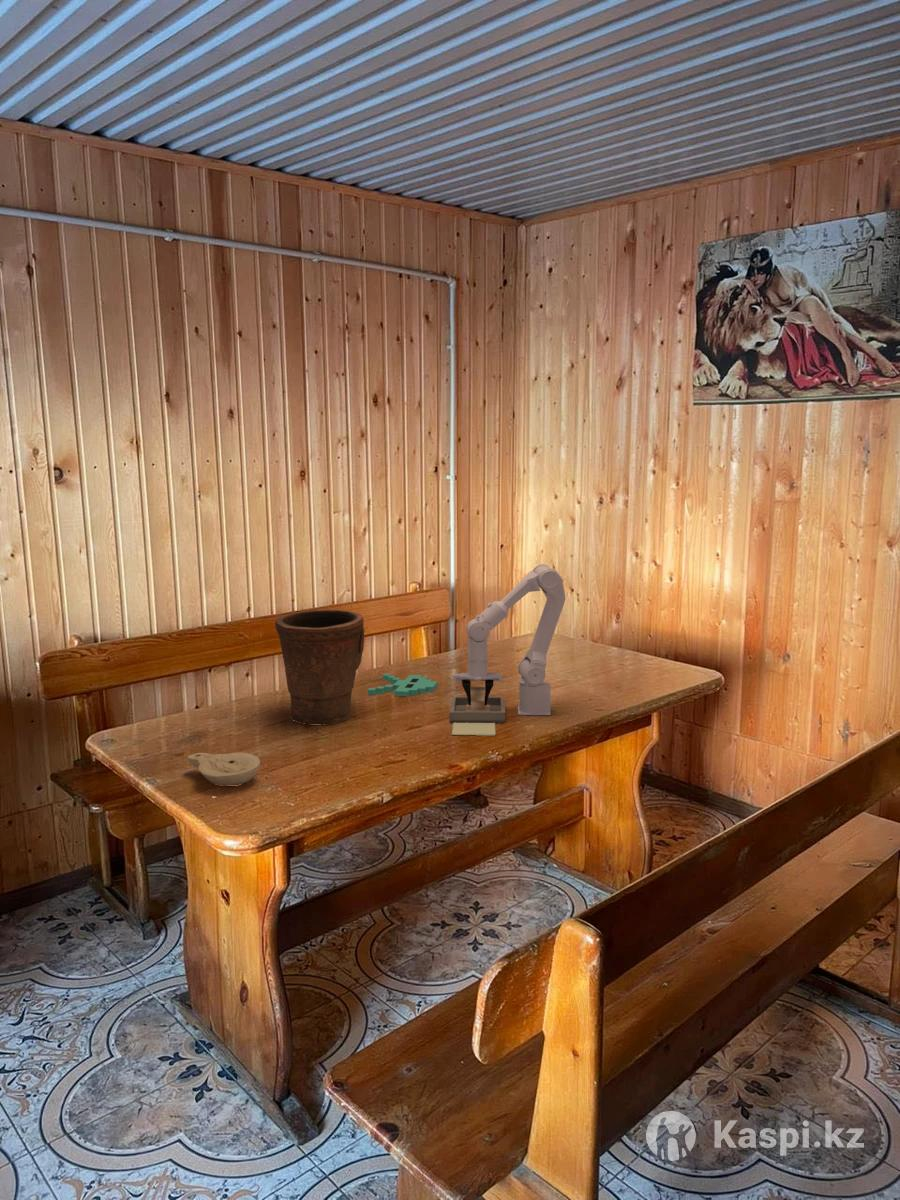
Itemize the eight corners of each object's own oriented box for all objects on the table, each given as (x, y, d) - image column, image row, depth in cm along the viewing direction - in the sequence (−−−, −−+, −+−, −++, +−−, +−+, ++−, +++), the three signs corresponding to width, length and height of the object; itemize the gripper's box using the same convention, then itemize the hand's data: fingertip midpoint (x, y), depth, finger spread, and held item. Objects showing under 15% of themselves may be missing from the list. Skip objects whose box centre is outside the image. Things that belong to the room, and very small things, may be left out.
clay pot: (392, 711, 268) (390, 613, 263) (316, 735, 247) (312, 630, 241) (336, 695, 285) (333, 603, 279) (261, 716, 264) (256, 617, 258)
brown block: (484, 706, 266) (484, 686, 264) (484, 710, 262) (484, 690, 260) (471, 706, 266) (471, 686, 265) (470, 710, 262) (470, 690, 261)
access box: (504, 706, 272) (504, 696, 271) (505, 723, 256) (505, 712, 255) (451, 706, 272) (451, 696, 272) (449, 723, 256) (449, 712, 256)
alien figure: (367, 696, 285) (428, 699, 281) (367, 689, 285) (428, 692, 281) (384, 679, 304) (441, 682, 300) (384, 673, 304) (441, 676, 300)
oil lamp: (167, 781, 215) (166, 761, 214) (211, 762, 227) (210, 743, 226) (230, 798, 205) (228, 778, 204) (273, 778, 217) (272, 758, 216)
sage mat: (495, 724, 255) (494, 723, 255) (495, 735, 245) (495, 734, 245) (453, 724, 255) (453, 722, 255) (451, 735, 246) (451, 734, 246)
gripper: (452, 663, 257) (452, 708, 260) (502, 663, 257) (502, 708, 259) (453, 657, 264) (453, 701, 267) (502, 657, 264) (502, 701, 266)
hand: (477, 704), depth 263 cm, fingers closed on brown block, 4 cm apart
